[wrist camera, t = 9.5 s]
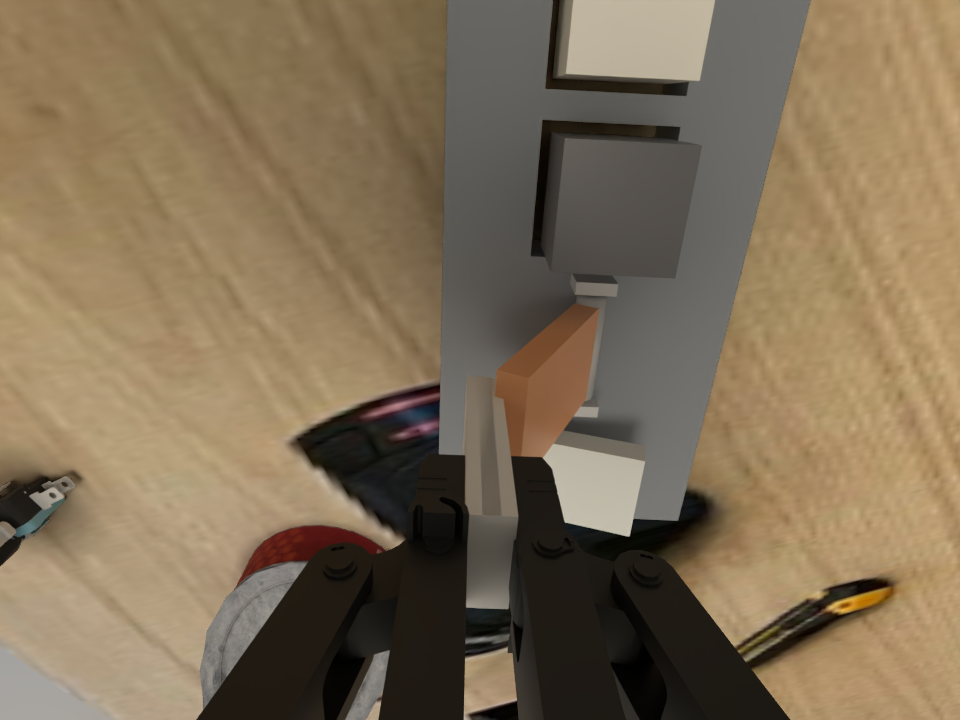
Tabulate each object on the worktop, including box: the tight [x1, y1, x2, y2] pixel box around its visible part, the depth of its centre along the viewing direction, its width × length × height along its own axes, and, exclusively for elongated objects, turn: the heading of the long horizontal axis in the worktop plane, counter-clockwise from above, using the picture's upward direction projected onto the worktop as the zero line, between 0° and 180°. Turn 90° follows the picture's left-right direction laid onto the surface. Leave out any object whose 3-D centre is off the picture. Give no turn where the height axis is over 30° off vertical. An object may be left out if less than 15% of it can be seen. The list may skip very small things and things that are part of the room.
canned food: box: [200, 525, 390, 720], centre depth 31 cm, size 11×10×10 cm
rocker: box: [543, 430, 645, 536], centre depth 25 cm, size 4×6×1 cm, turn 87°
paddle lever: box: [495, 295, 608, 458], centre depth 20 cm, size 4×1×8 cm, turn 177°
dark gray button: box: [541, 132, 702, 279], centre depth 20 cm, size 4×4×4 cm
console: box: [439, 0, 811, 521], centre depth 23 cm, size 26×12×4 cm, turn 177°
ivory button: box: [552, 0, 715, 84], centre depth 18 cm, size 4×4×4 cm
